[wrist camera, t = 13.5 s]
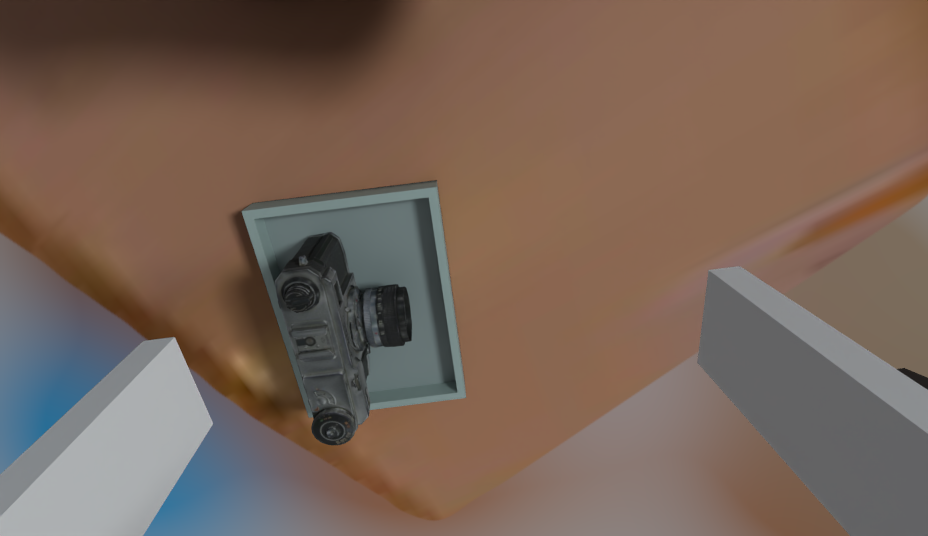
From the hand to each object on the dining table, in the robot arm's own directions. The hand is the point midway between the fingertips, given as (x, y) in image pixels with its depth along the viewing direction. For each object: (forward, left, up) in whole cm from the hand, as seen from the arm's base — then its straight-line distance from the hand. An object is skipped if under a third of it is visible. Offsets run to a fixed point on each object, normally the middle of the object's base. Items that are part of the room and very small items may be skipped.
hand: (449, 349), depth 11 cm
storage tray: (+14, -9, -31) cm, 35 cm away
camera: (+14, -9, -30) cm, 35 cm away
